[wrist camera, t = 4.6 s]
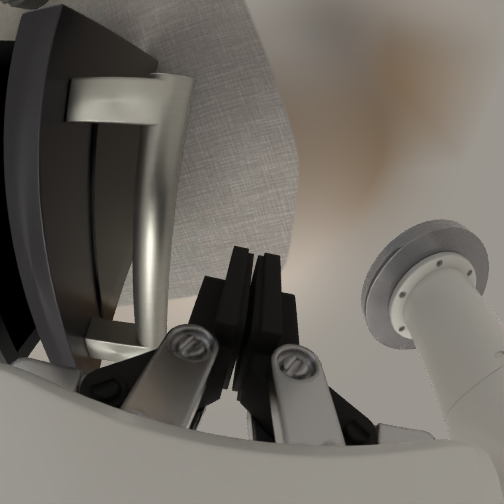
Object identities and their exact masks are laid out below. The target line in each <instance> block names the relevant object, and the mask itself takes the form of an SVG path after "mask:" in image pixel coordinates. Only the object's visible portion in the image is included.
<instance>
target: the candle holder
mask: <svg viewBox="0 0 504 504" xmlns="http://www.w3.org/2000/svg"><path fill="white" fill-rule="evenodd" d="M0 1H2V2H3V3H4V4H6V3H8V4H9V5H11V6H12V7H18V8H24V9H30V10H31V9H37V8H39V7H41V6H42V5H44V4H45V3H46V2H47V1H48V0H0Z"/></svg>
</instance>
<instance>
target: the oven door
mask: <svg viewBox="0 0 504 504" xmlns="http://www.w3.org/2000/svg"><path fill="white" fill-rule="evenodd" d="M157 64H158V61H157V60H156V59H154V58H153V57H151V56H150V55H148V54H147V53H145V52H144V51H142V50H141V49H139V48H138V47H136V46H135V45H133V44H132V43H130V42H128V41H127V40H125V39H124V38H122V37H120V36H119V35H117V34H116V33H114V32H112V31H111V30H109V29H107V28H105V27H104V26H102V25H100V24H99V23H97V22H95V21H93V20H92V19H90V18H88V17H86V16H84V15H83V14H81V13H79V12H77V11H75V10H73V9H71V8H69V7H67V6H65V5H63V4H60V5H55V6H50V7H46V8H41V9H37V10H33V11H29V12H26V13H23V14H22V17H21V20H20V24H19V28H18V32H17V36H16V40H15V44H14V49H13V54H12V59H11V64H10V70H9V77H8V84H7V92H6V102H5V115H4V177H5V190H6V200H7V209H8V216H9V223H10V230H11V235H12V241H13V246H14V251H15V256H16V260H17V265H18V269H19V273H20V277H21V281H22V284H23V288H24V292H25V295H26V298H27V302H28V305H29V308H30V311H31V314H32V317H33V320H34V323H35V326H36V328H37V331H38V334H39V336H40V339H41V342H42V344H43V347H44V349H45V351H46V354H47V356H48V358H49V361H50V363H54V364H58V365H63V366H68V367H73V368H79V369H81V370H82V372H83V373H90V372H92V371H94V370H96V369H99V368H100V365H101V360H102V359H103V360H108V361H115V362H120V361H123V360H126V359H129V358H132V357H135V356H138V355H141V354H143V353H146V352H149V351H152V350H154V349H157V348H158V347H159V345H160V343H161V342H162V340H163V339H164V337H165V336H166V334H167V306H168V287H169V271H170V257H171V245H172V234H173V224H174V214H175V206H176V197H177V189H178V181H179V174H180V167H181V160H182V153H183V147H184V141H185V135H186V129H187V123H188V118H189V112H190V107H191V102H192V97H193V92H194V87H195V82H196V78H195V77H191V76H186V75H179V74H169V73H156V68H157ZM132 259H133V298H134V316H135V324H134V323H126V322H119V321H112V320H113V316H114V313H115V310H116V307H117V304H118V300H119V297H120V294H121V291H122V288H123V285H124V282H125V279H126V276H127V273H128V271H129V268H130V265H131V262H132Z"/></svg>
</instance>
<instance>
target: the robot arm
mask: <svg viewBox="0 0 504 504" xmlns="http://www.w3.org/2000/svg"><path fill="white" fill-rule="evenodd" d="M248 252H249V249H247V248H242V247H238V246H234V248H233V252H232V256H231V260H230V264H229V268H228V272H227V276H226V280H222V279H218V278H213V277H209V276H205V277H204V280H203V283H202V285H201V288H200V291H199V294H198V297H197V300H196V302H195V306H194V308H193V311H192V314H191V317H190V320H189V323H188V324H183V325H178V326H176V327H174V328H172V329H171V330H170V331H169V332H168V333H167V334H166V336H165V337H164V339H163V340H162V342H161V343H160V345H159V347H158V348H157V349H154V350H152V351H149V352H146V353H143V354H141V355H138V356H135V357H132V358H129V359H126V360H123V361H120V362H117V363H114V364H112V365H109V366H105V367H102V368H99V369H96V370H94V371H92V372H90V373H83V372H82V370H81V369H79V368H73V367H68V366H63V365H58V364H54V363H49V362H44V361H40V360H36V359H32V358H24V357H23V358H19V359H16V360H15V361H14V362H12V363H11V365H8V364H4V363H0V504H504V325H503V324H502V323H501V321H500V320H499V319H498V317H497V316H496V314H495V313H494V312H493V310H492V309H491V308H490V306H489V305H488V304H487V302H486V301H485V300H484V299H483V297H482V296H481V295H480V293H479V292H478V291H477V290H476V289H475V288H476V274H475V270H474V268H473V266H472V264H471V263H470V262H469V261H468V260H467V259H466V258H465V257H464V256H462V255H461V254H458V253H455V252H441V253H437V254H434V255H431V256H429V257H427V258H425V259H423V260H421V261H420V262H418V263H417V264H416V265H414V266H413V267H412V268H411V269H410V270H409V271H408V272H407V273H406V274H405V275H404V276H403V277H402V279H401V280H400V281H399V282H398V284H397V286H396V288H395V289H394V291H393V294H392V296H391V299H390V303H389V318H390V321H391V323H392V326H393V328H394V329H395V331H396V332H397V333H398V334H400V335H401V336H403V337H406V338H409V339H413V342H414V344H415V346H416V348H417V350H418V353H419V355H420V358H421V360H422V362H423V365H424V367H425V369H426V372H427V374H428V377H429V380H430V382H431V385H432V387H433V390H434V392H435V395H436V398H437V401H438V403H439V406H440V409H441V412H442V414H443V418H444V421H445V423H446V426H447V429H448V432H449V435H450V437H451V438H452V440H435V438H434V437H433V435H431V434H430V433H429V432H426V431H423V430H415V429H409V428H403V427H397V426H392V425H386V424H381V423H379V424H378V425H376V426H375V425H373V423H372V422H371V421H370V420H369V419H368V418H367V417H365V416H364V415H363V414H362V413H361V412H359V411H358V410H357V409H356V408H354V407H353V406H352V405H351V404H349V403H348V402H347V401H346V400H345V399H344V398H342V397H341V396H340V395H338V394H337V393H336V392H335V391H334V390H333V389H331V388H330V387H329V386H328V384H327V381H326V377H325V374H324V371H323V368H322V364H321V362H320V360H319V358H318V357H317V356H316V355H315V354H314V352H312V351H310V350H309V349H307V348H306V347H303V346H300V345H299V335H298V323H297V312H296V302H295V296H294V295H293V294H288V293H283V292H281V265H280V256H278V255H274V254H269V253H265V254H264V256H260V255H258V258H257V262H256V266H255V269H254V273H253V277H252V281H251V275H252V267H253V258H254V254H251V253H248ZM250 284H251V285H250ZM235 361H236V366H235V373H234V381H233V387H232V390H233V391H238V396H237V400H238V401H240V403H241V404H242V405H243V406H244V407H245V408H246V409H247V410H248V411H247V425H248V436H249V440H245V439H238V438H231V437H226V436H220V435H214V434H210V433H205V432H200V431H198V428H199V426H200V423H201V420H202V418H203V416H204V413H205V411H206V406H207V405H209V404H211V403H213V402H215V401H216V400H218V399H220V396H221V392H222V389H227V388H228V385H229V382H230V379H231V375H232V372H233V368H234V365H235Z"/></svg>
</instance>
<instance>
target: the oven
mask: <svg viewBox="0 0 504 504" xmlns="http://www.w3.org/2000/svg"><path fill="white" fill-rule="evenodd" d="M14 44H15V41H0V363H4V364H8V365H11V363H12V362H14V361H15V360H16V359H19V358H23V357H24V358H27V357H28V356H29V355H30V353H31V352H32V350H33V349H34V347H35V346H36V345H37V343H38V342H39V340H40V336H39V334H38V331H37V328H36V326H35V323H34V320H33V317H32V314H31V311H30V308H29V305H28V302H27V298H26V295H25V292H24V288H23V284H22V281H21V277H20V273H19V269H18V265H17V260H16V256H15V251H14V246H13V241H12V235H11V230H10V223H9V216H8V209H7V200H6V190H5V177H4V115H5V102H6V92H7V84H8V77H9V70H10V64H11V59H12V54H13V49H14Z"/></svg>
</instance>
